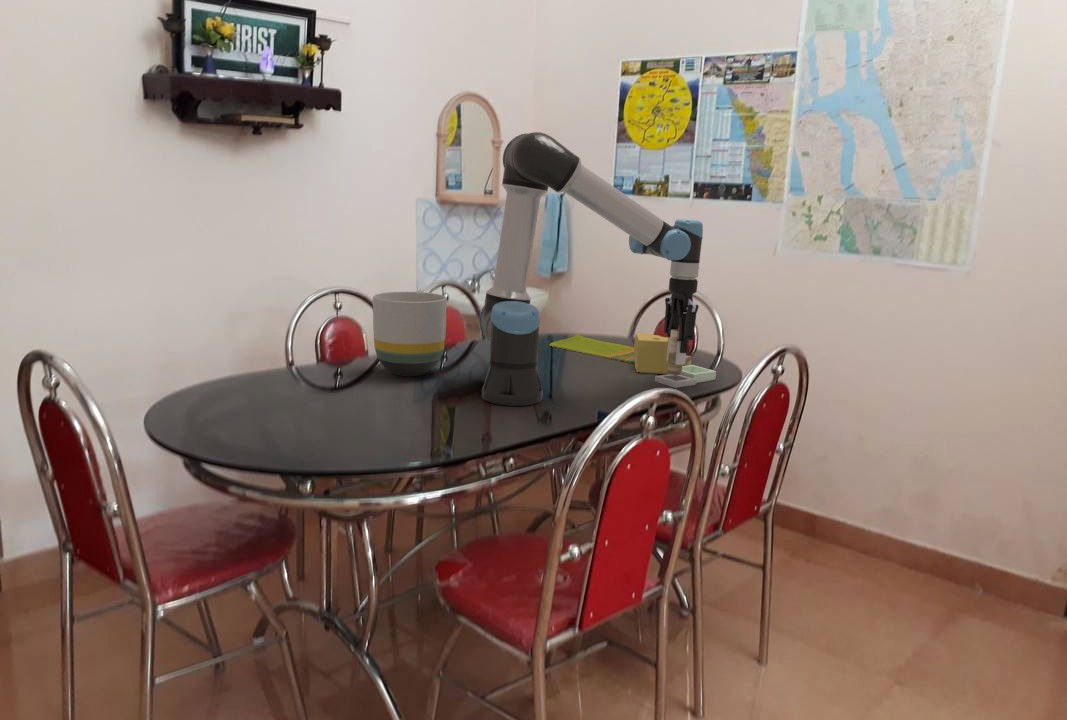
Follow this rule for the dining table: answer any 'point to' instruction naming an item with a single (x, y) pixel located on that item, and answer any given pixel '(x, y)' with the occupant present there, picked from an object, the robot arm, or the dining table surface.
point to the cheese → (650, 353)
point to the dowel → (673, 354)
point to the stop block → (687, 361)
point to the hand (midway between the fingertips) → (675, 362)
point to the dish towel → (597, 348)
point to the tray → (698, 373)
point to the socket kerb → (679, 382)
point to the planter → (409, 331)
